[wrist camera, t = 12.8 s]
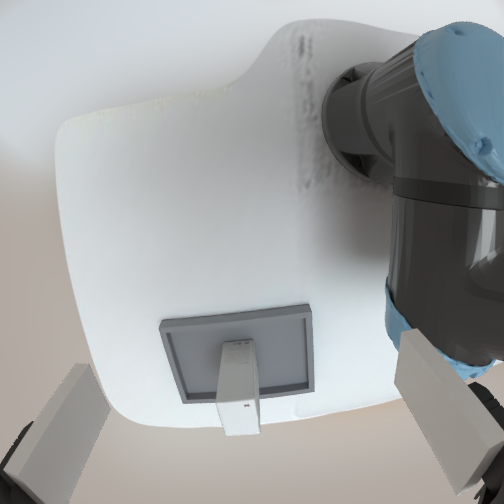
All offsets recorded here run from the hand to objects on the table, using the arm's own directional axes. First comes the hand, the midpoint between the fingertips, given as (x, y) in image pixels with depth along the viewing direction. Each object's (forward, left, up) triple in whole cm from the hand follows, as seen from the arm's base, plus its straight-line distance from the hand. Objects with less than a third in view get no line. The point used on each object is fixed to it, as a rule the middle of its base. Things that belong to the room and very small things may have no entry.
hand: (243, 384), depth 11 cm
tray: (+3, +17, -27) cm, 32 cm away
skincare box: (+3, +17, -26) cm, 31 cm away
